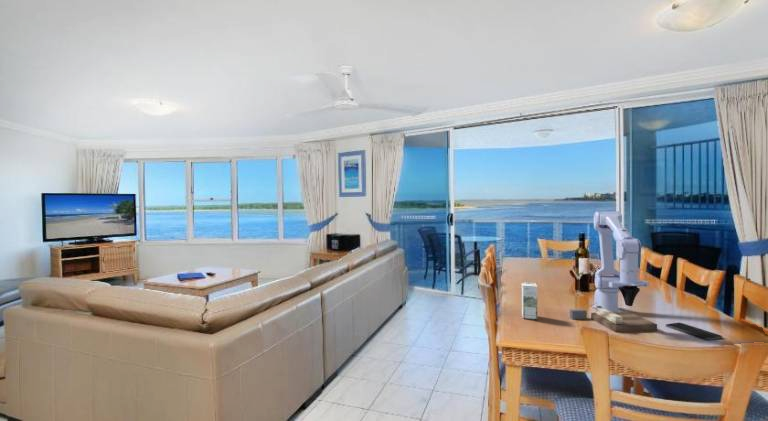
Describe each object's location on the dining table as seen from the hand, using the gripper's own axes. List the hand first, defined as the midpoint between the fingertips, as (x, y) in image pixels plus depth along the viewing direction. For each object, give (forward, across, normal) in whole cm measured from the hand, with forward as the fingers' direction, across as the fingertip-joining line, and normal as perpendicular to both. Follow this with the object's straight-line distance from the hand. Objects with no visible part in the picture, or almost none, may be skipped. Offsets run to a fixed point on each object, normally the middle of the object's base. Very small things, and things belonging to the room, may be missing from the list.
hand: (628, 305), depth 138 cm
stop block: (+9, -13, +12) cm, 20 cm away
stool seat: (+9, 0, +4) cm, 9 cm away
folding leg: (+6, -6, +3) cm, 9 cm away
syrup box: (+9, -32, +15) cm, 37 cm away
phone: (+9, +20, -6) cm, 23 cm away
